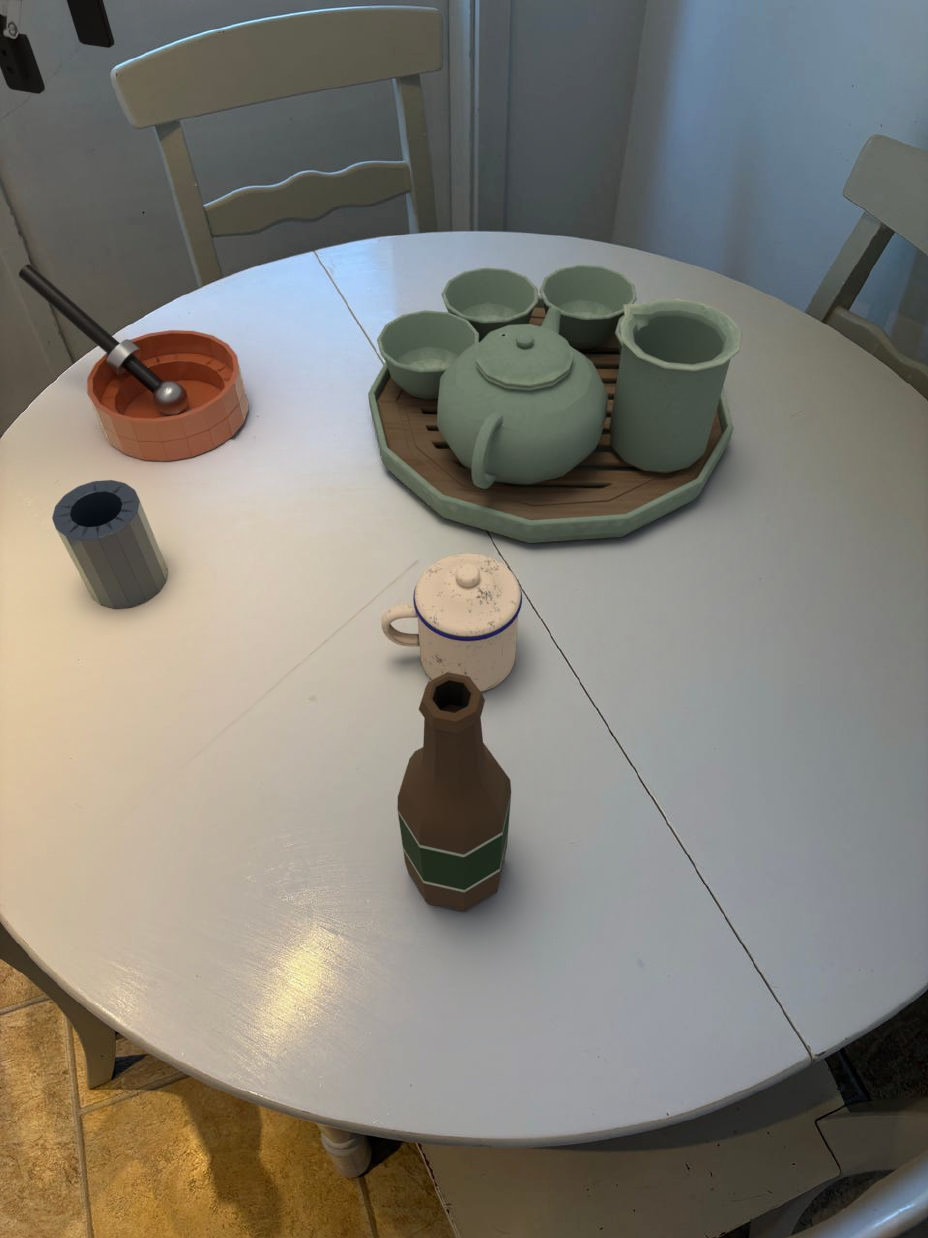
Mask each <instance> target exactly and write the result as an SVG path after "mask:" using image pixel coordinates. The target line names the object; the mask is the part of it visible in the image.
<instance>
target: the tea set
mask: <svg viewBox="0 0 928 1238" xmlns="http://www.w3.org/2000/svg"><path fill="white" fill-rule="evenodd" d="M441 298H442V301H443V304H444V306H445V308H446V310H447V311H437V310H420V311H415V312H410V313H405V314H401V315H400V316H398V317H396V318H395V319H393V320H391V321H389V322H388V323H386V324H384V326H383V328H382V330H381V332H380V333H379V334H378V337H377V339H376V342H377V347H378V349H379V350H378V351H379V353H380V354H379V355H380V356H381V357H382V359H383V360H384V363H383V366H382V367H381V369H380V371H379V373H378V374H377V376H376V377H375V380H374V381H373V383H372V385H371V387H370V389H369V391H368V394H367V397H368V405H369V411H370V415H371V418H372V423H373V427H374V431H375V436H376V440H377V444H378V449H379V452H380V458H381V461H382V463H383V465H384V467H385V468H386V469H387V470H388V471H389V472H390V473H391V474H392V475H394V476H395V477H396V478H397V479H398V480H399V481H400V482H401V483H403V484H404V485H405V486H406V487H407V488H409V490H410V491H412V492H413V493H414V495H416V496H418V497H419V498H420V499H421V500H422V501H423V502H424V503H425V504H427V505H428V506H429V507H430V508H431V509H432V510H434V511H435V512H436V513H437V514H438V515H439V516H440V517H441V518H443V519H446V520H451V521H453V522H457V523H461V524H464V525H467V526H470V527H474V528H477V529H481V530H484V531H487V532H490V533H494V534H497V535H499V536H500V535H501V536H503V537H508V538H511V539H514V540H517V541H520V542H524V543H528V544H534V543H535V544H537V543H550V542H563V541H578V540H593V539H607V538H609V539H610V538H621V537H624V536H627V535H628V534H630V533H632V532H634V531H636V530H638V529H640V528H642V527H644V526H646V525H648V524H650V523H652V522H654V521H656V520H659V518H663V516H665V515H667V514H670V513H671V512H673V511H676V510H677V509H679V508H681V507H683V506H685V505H687V504H689V503H691V502H693V501H694V500H695V499H697V497H698V496H700V493H701V492H702V490H703V488H704V487H705V485H706V483H707V481H708V480H709V478H710V477H711V475H712V473H713V471H714V469H715V468H716V465H717V464H718V462H719V460H720V459H721V457H722V455H723V454H724V453H725V450H726V449H727V446H728V445H729V443H730V441H731V438H732V435H733V433H734V432H733V431H734V425H733V420H732V417H731V412H730V408H729V403H728V399H727V395H726V391H725V386H724V384H725V381H726V377H727V374H728V370H729V366H730V364H731V363H730V362H731V360H732V358H733V357H735V356H736V355H737V354H739V353H740V350H741V345H742V337H743V333H742V332H741V330H740V329H739V327H738V325H737V324H736V323H735V321H734V320H733V318H732V316H730V315H728V314H727V313H725V312H723V311H721V310H720V309H718V308H716V307H714V306H712V305H710V304H708V303H705V302H699V301H695V300H691V299H686V298H682V297H681V298H680V297H679V298H678V297H677V298H661V299H660V298H659V299H652V300H650V301H647V302H644V303H635V302H636V301H638V299H637V298H638V297H637V291H636V286H635V284H634V283H633V282H632V281H631V280H629V278H627V277H626V276H625V275H624V274H623V273H621V272H619V271H616V270H613V269H611V268H609V267H605V266H603V265H601V266H600V265H590V264H589V265H587V264H576V265H572V266H567V267H560V268H558V269H556V270H555V271H553V272H552V273H550V274H548V275H547V276H545V277H544V278H543V281H542V283H541V285H540V288H539V289H538V287H537V286H536V285H535V283H533V282H532V281H531V280H530V279H529V277H527V276H526V275H523V274H521V273H518V272H515V271H513V270H511V269H508V268H495V267H480V268H476V269H471V270H470V269H469V270H465V271H462V272H461V273H459V274H457V275H456V276H454V277H452V278H450V279H449V280H447V283H446V284H445V286H444V288H443V290H442V292H441Z"/></svg>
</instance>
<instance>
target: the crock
mask: <svg viewBox="0 0 928 1238" xmlns="http://www.w3.org/2000/svg"><path fill="white" fill-rule="evenodd" d="M51 519H52V522H53V525H54V528H55V530H56V532H57V534H58V536H59V538H60V540H61V541H62V543H63V546H64V547H65V549H66V551H67V554H68V555H69V557H70V559H71V561H72V562H73V564H74V566H75V568H76V570H77V572H78V574H79V577H80V578H81V580H82V582H83V583H84V586H85V588H86V589H87V591H88V593H89V595H90V597H91V598H92V600H94V601H95V602H96V603H98V604H99V605H100V606H103V607H106V608H109V609H115V610H124V609H125V610H126V609H131V608H134V607H138V606H141V605H143V604H145V603H148V602H149V601H151V600H152V599H154V597H156V596H157V595H158V594H159V593H160V592H161V590H163V588H164V587H165V585H166V582H167V579H168V571H169V570H168V566H167V564H166V561H165V559H164V557H163V554H162V552H161V549H160V547H159V544H158V542H157V539H156V537H155V535H154V532H153V530H152V527H151V524H150V522H149V520H148V517H147V514H146V513H145V510H144V507H143V505H142V502H141V500H140V497H139V495H138V493H137V491H136V490H135V489H134V488H133V487H132V486H130V485H129V484H127V483H126V482H123V481H118V480H114V479H106V480H105V479H104V480H95V481H89V482H86V483H84V484H81V485H78V486H76V487H75V488H73V489H71V490H70V491H68V492H67V493H65V494H64V495H63V496H62V497H61V499H60V500H59V501H58V502H57V503H56V505H55V506H54V510H53V514H52V517H51Z"/></svg>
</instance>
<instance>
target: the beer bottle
mask: <svg viewBox="0 0 928 1238" xmlns="http://www.w3.org/2000/svg"><path fill="white" fill-rule="evenodd" d="M485 702H486V699H485V697H484V695H483V693H482V692H480V690H479V689H478V688H477V686H476V685H475V684H474V682H473V681H472V680H471V678H470V677H469V676H465V675H459V674H454V673H449V672H447V673H445V674H443V675H441V676H439V677H437V678H435V679H433V680H432V679H431V680H428V682H427V684H426V686H425V687H424V691H423V693H422V697H421V701H420V703H419V707H418V711H419V712H420V714H421V715H422V717H423V719H424V720H423V721H424V722H423V743H422V747H420V748H418V749H416V750H414V751H413V753H412V754H411V756H410V757H409V759H408V762H407V765H406V768H405V771H404V774H403V778H402V782H401V785H400V788H399V791H398V795H397V806H396V807H397V808H396V809H397V816H398V817H397V818H398V823H399V829H400V837H401V845H402V851H403V859H404V863H405V868H406V871H407V873H408V874H409V876H410V877H411V880H412V881H413V882H414V884H415V886H416V888H417V889H418V891H419V892H420V894H421V895H422V897H423V900H424V901H425V903H426V904H430V905H435V906H439V907H443V908H447V909H450V910H454V911H455V910H456V911H460V912H466V911H468V910H470V909H471V908H473V907H474V906H476V905H477V904H479V903H481V902H483V901H484V900H486V899H488V898H489V897H491V896H492V895H494V894H496V893H497V892H498V891H499V890H498V889H499V884H500V880H501V876H502V871H503V866H504V863H505V858H506V853H507V849H508V838H509V827H510V814H511V803H512V784H511V779H510V777H509V776H508V775H507V773H506V772H505V770H504V768H502V766H501V765H500V763H499V762H498V761H497V759H496V757H495V756H494V755H493V753H491V751H490V750H489V748H488V746H487V745H486V744H485V743H484V737H483V728H482V714H483V710H484V707H485Z"/></svg>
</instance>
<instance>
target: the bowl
mask: <svg viewBox="0 0 928 1238" xmlns="http://www.w3.org/2000/svg"><path fill="white" fill-rule="evenodd" d="M129 340H130V341H132V342H133V343H134V344H135V345H136V346H137V347H138V348H140V349H141V355H140V357H139V359H138V360H140V361H141V362H142V363H143V364H144V365H145V366H146V367H148V368H149V369H150V370H151V371H152V372H153V373H154V374H156V375H157V376H158V377H159V378H160V379H161V380H162V381H164V382H165V381H174V382H177V383H179V384H180V385H182V386H183V387H184V389H185V390H186V392H187V394H188V405H187V407H186V409H185V410H184V411H183V412H182V413H180V414H178V415H174V416H169V415H165V414H163V413H161V412H160V411H159V410H158V409H157V408H156V406H155V404H154V402H153V393H152V392H151V391H149V390H148V389H147V388H146V387H145V386H144V385H143V384H141V383H140V382H139V381H138V380H137V379H136V378H135V377H133V376H132V375H131V374H130V373H129V372H128V371H127V372H126V373H124V374H122V375H118V374H116V373H115V372H114V371H113V370H112V369H111V368H109V367H108V366H107V365H106V360H107V358H108V356H109V355H108V354H107V353H106V352H105V354H104V355H103V356H102V357H100V359H98V360H97V361H96V362H95V363H94V364H93V367H92V369H91V370H90V373H89V375H88V376H87V379H86V384H87V385H86V393H87V396H88V398H89V401H90V403H91V406H92V408H93V410H94V413H95V415H96V419H97V420H98V422H99V425H100V427H101V430H102V433H103V434H104V436H105V438H106V439H107V441H108V442H109V444H110V445H111V446H112V447H114V448H115V449H117V450H118V451H119V452H121V453H123V454H124V455H125V456H129V457H131V458H136V459H139V460H141V461H142V460H143V461H150V462H151V461H153V462H171V461H177V460H184V459H189V458H190V459H191V458H194V457H196V456H199V455H202V454H204V453H206V452H209V451H212V450H215V449H216V448H217V447H219V446H220V445H222V444H223V443H225V442H227V441H228V440H229V439H231V438H232V437H234V435H235V434H236V433H237V431H238V430H239V429H240V428H241V427H242V426H243V424H244V423H245V420H246V417H247V415H248V412H249V408H250V407H249V401H248V396H247V391H246V387H245V383H244V382H245V381H244V378H243V375H242V370H241V365H240V362H239V358H238V355H237V354H236V352H235V351H234V350H233V348H232V347H231V346H230V344H228V343H227V342H225V341H224V340H222V339H220V338H219V337H216V336H215V335H213V334H208V333H203V332H200V331H196V330H184V329H183V330H181V329H170V330H163V331H156V332H150V333H146V334H142V335H140V336H137V337H134V338H131V339H129Z"/></svg>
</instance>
